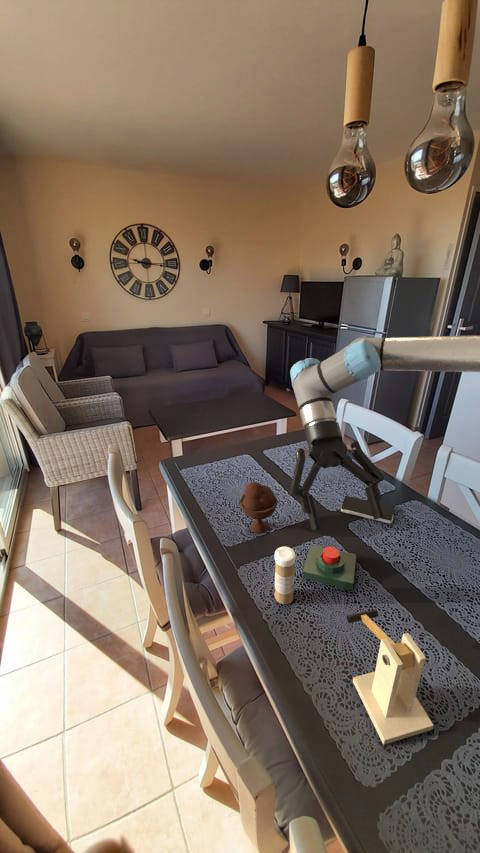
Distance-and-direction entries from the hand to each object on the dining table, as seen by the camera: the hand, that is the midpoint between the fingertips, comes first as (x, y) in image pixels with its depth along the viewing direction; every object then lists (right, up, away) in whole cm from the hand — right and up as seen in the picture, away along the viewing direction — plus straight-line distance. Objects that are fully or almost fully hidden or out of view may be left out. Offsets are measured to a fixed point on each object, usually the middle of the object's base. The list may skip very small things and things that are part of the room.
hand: (348, 524), depth 72 cm
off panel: (+1, -17, +20) cm, 26 cm away
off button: (+1, -14, +19) cm, 23 cm away
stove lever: (+4, -19, -8) cm, 21 cm away
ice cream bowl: (-16, -11, +36) cm, 41 cm away
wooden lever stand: (+5, -29, -8) cm, 31 cm away
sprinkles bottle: (-11, -21, +13) cm, 27 cm away
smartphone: (+19, -7, +42) cm, 46 cm away
